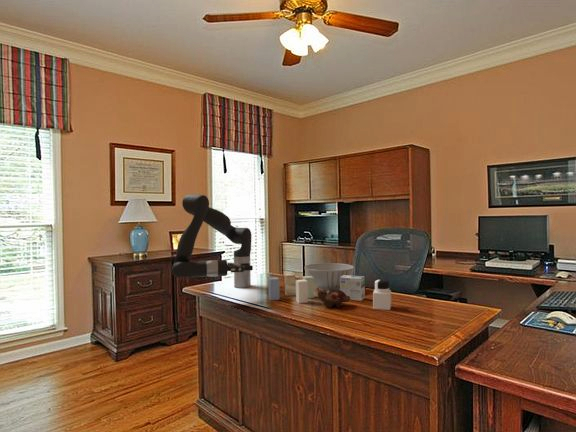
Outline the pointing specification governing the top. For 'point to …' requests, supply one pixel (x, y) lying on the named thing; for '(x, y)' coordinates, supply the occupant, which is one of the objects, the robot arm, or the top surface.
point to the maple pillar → (290, 284)
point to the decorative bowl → (328, 274)
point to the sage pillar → (310, 285)
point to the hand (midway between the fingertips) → (250, 266)
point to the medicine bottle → (382, 295)
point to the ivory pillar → (302, 291)
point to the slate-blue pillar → (273, 288)
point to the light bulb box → (353, 287)
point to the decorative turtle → (333, 297)
